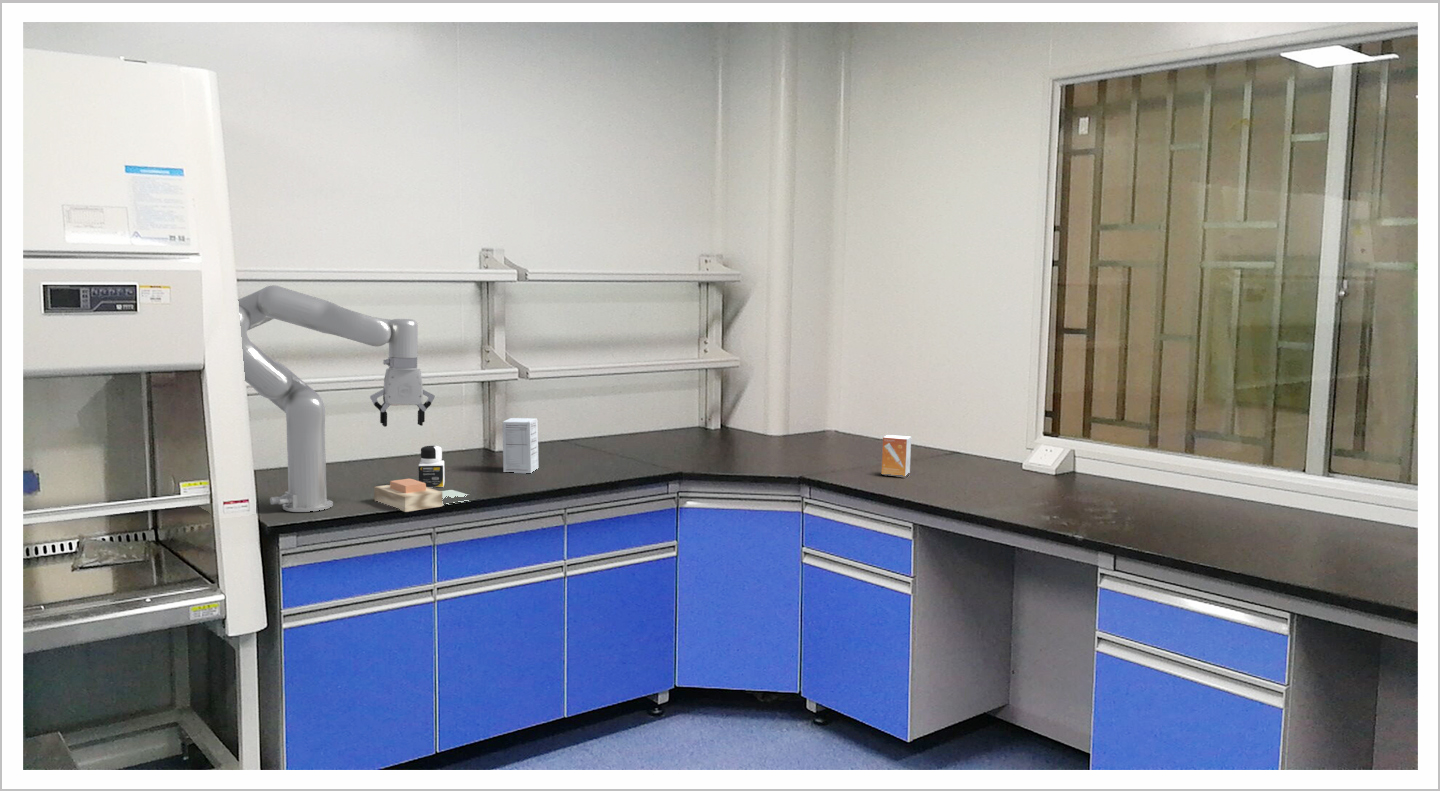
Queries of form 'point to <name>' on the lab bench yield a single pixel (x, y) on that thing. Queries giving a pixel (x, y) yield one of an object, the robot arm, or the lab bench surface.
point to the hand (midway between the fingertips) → (402, 425)
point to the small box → (896, 455)
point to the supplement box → (520, 445)
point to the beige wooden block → (408, 498)
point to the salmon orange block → (407, 485)
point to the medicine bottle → (431, 467)
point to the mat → (453, 494)
